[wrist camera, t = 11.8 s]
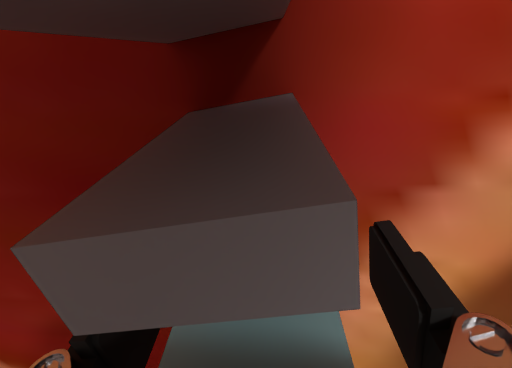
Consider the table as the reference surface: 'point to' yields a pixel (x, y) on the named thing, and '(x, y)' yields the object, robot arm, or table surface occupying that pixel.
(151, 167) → the domino
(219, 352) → the domino
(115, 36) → the domino
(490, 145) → the table surface
